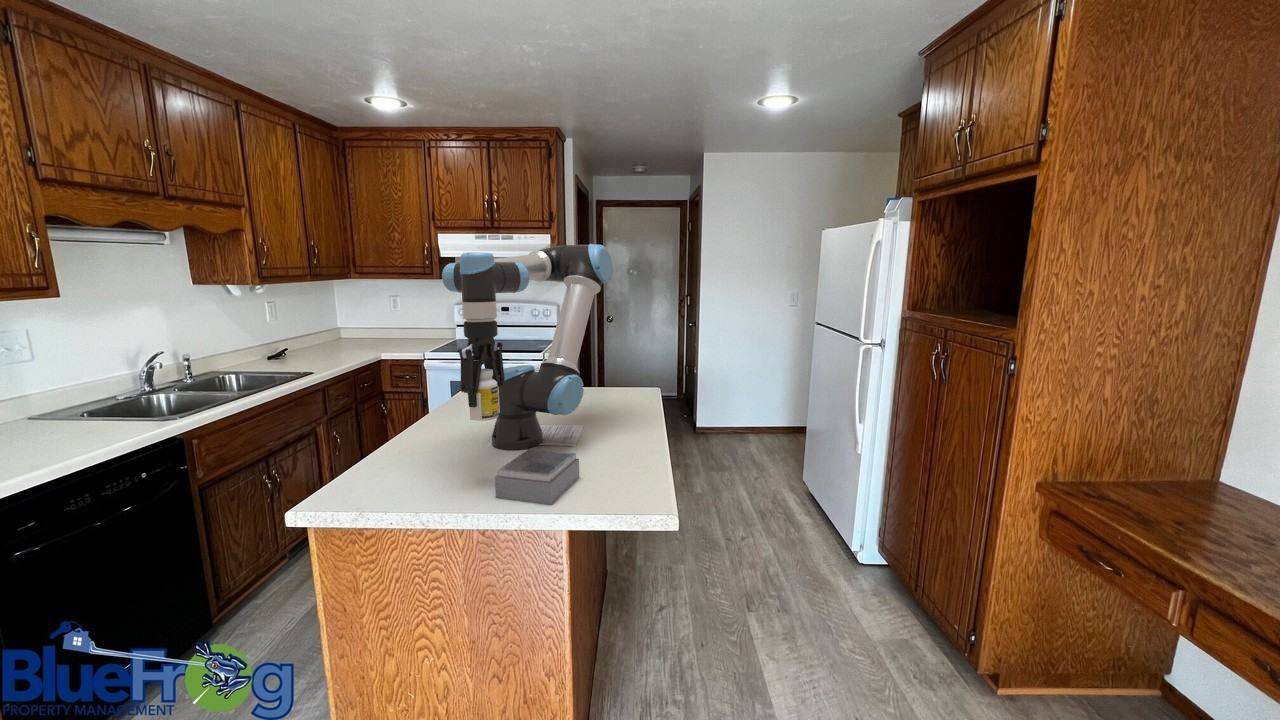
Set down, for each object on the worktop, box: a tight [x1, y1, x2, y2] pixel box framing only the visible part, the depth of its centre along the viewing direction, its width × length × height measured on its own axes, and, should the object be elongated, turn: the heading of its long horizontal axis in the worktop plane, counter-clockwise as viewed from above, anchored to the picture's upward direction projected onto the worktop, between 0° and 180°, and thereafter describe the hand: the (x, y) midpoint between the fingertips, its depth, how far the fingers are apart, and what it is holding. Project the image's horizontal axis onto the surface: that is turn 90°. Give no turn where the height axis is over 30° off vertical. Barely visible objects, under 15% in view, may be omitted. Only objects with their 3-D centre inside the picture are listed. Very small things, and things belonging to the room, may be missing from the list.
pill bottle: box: [478, 368, 499, 422], centre depth 125 cm, size 6×6×12 cm
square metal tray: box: [494, 448, 580, 506], centre depth 126 cm, size 16×16×6 cm
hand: (485, 415), depth 126 cm, fingers closed on pill bottle, 6 cm apart
